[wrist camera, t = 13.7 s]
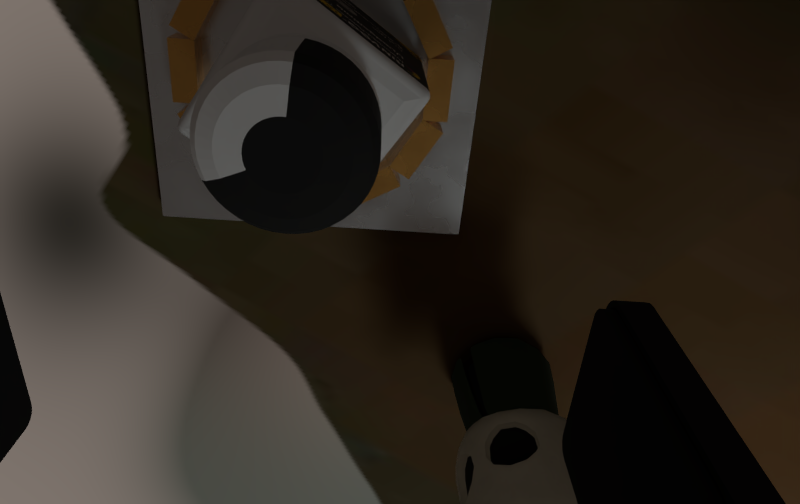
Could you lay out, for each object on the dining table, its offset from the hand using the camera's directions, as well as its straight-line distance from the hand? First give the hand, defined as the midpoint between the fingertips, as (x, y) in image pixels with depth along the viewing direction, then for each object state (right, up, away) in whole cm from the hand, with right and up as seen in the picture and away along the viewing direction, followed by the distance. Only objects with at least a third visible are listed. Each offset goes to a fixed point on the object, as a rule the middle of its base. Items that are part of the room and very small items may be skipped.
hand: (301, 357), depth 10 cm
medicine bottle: (-2, +10, +20) cm, 22 cm away
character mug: (+8, -6, +29) cm, 31 cm away
